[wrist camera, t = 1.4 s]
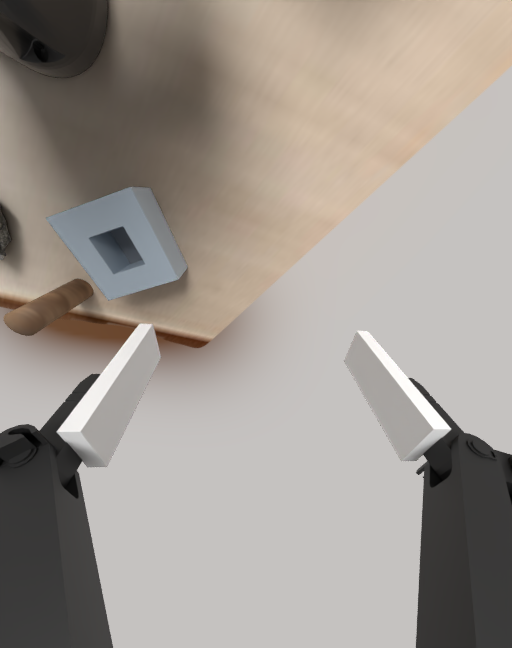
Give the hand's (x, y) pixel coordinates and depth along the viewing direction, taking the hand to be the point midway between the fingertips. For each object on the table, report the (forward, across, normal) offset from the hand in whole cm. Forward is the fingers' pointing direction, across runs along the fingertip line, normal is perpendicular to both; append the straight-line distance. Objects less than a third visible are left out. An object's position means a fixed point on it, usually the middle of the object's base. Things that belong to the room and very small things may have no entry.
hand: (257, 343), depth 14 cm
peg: (+25, -30, -9) cm, 40 cm away
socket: (+25, -18, 0) cm, 31 cm away
